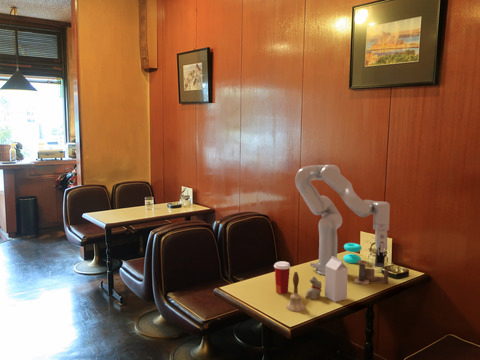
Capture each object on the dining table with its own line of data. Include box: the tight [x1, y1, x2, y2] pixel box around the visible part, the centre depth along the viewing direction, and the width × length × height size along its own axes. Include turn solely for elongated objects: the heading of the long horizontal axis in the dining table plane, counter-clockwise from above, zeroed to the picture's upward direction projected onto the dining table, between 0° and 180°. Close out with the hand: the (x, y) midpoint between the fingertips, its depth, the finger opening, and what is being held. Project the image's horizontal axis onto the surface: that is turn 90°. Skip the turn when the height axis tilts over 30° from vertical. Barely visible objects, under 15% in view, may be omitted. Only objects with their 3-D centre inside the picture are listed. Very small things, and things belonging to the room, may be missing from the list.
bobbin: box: [353, 259, 370, 286], centre depth 196 cm, size 7×7×11 cm
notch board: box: [365, 267, 390, 285], centre depth 198 cm, size 14×5×6 cm, turn 77°
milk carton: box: [324, 256, 349, 303], centre depth 177 cm, size 7×7×19 cm
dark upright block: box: [374, 250, 386, 268], centre depth 196 cm, size 4×4×8 cm
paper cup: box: [273, 260, 291, 295], centre depth 184 cm, size 8×8×14 cm
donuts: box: [343, 242, 362, 264], centre depth 227 cm, size 10×10×10 cm
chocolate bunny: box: [305, 275, 323, 300], centre depth 179 cm, size 6×8×10 cm
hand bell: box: [285, 271, 306, 313], centre depth 168 cm, size 8×8×16 cm
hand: (379, 261), depth 196 cm, fingers closed on dark upright block, 3 cm apart
